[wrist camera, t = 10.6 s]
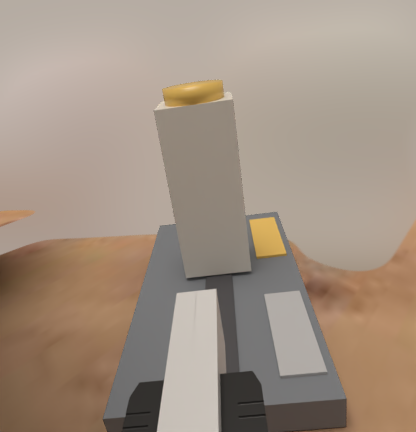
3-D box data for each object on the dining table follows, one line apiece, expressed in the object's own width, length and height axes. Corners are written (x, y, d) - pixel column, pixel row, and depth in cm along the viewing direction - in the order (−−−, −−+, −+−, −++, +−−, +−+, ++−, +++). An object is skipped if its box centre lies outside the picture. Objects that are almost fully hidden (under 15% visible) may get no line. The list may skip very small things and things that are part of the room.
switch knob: (251, 271, 29) (231, 82, 23) (186, 278, 29) (150, 94, 23) (247, 245, 32) (228, 77, 27) (189, 251, 33) (159, 87, 27)
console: (345, 426, 19) (346, 395, 18) (112, 445, 20) (101, 416, 19) (278, 229, 39) (276, 210, 38) (163, 242, 40) (159, 224, 39)
